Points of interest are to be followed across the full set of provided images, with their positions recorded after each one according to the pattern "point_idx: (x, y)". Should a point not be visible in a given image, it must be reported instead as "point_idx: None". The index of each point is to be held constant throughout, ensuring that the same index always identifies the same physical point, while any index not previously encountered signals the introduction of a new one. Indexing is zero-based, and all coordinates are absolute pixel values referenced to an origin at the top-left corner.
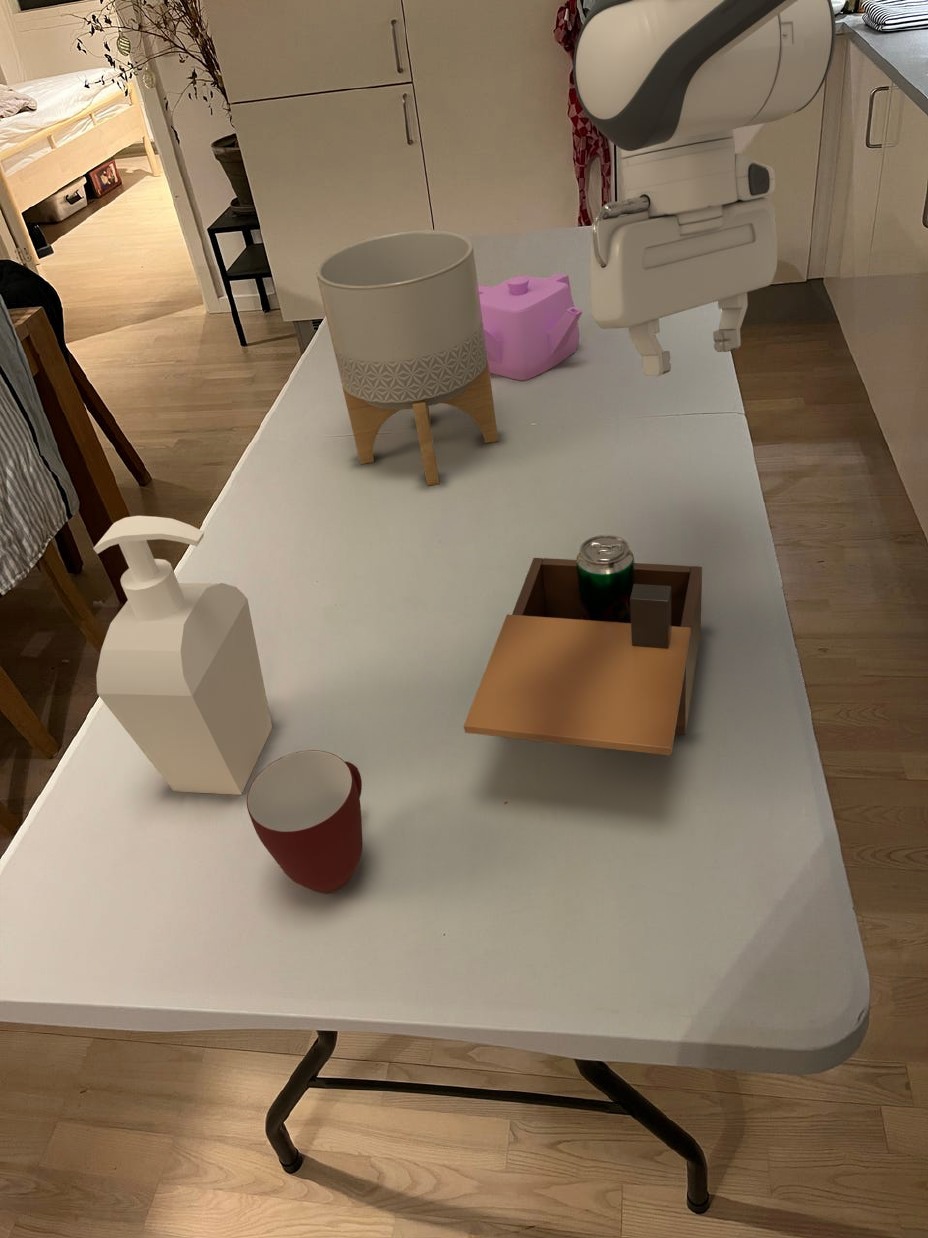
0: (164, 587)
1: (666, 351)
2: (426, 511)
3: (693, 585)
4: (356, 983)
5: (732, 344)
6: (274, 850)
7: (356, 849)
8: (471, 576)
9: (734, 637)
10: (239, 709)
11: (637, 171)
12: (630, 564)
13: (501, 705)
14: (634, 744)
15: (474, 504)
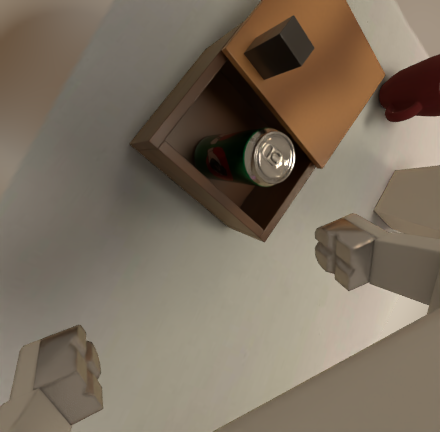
0: None
1: (355, 252)
2: (237, 399)
3: (174, 118)
4: (398, 27)
5: (65, 337)
6: None
7: (405, 70)
8: (244, 302)
9: (105, 120)
10: (425, 191)
11: None
12: (256, 131)
13: (365, 74)
14: None
15: (203, 400)
